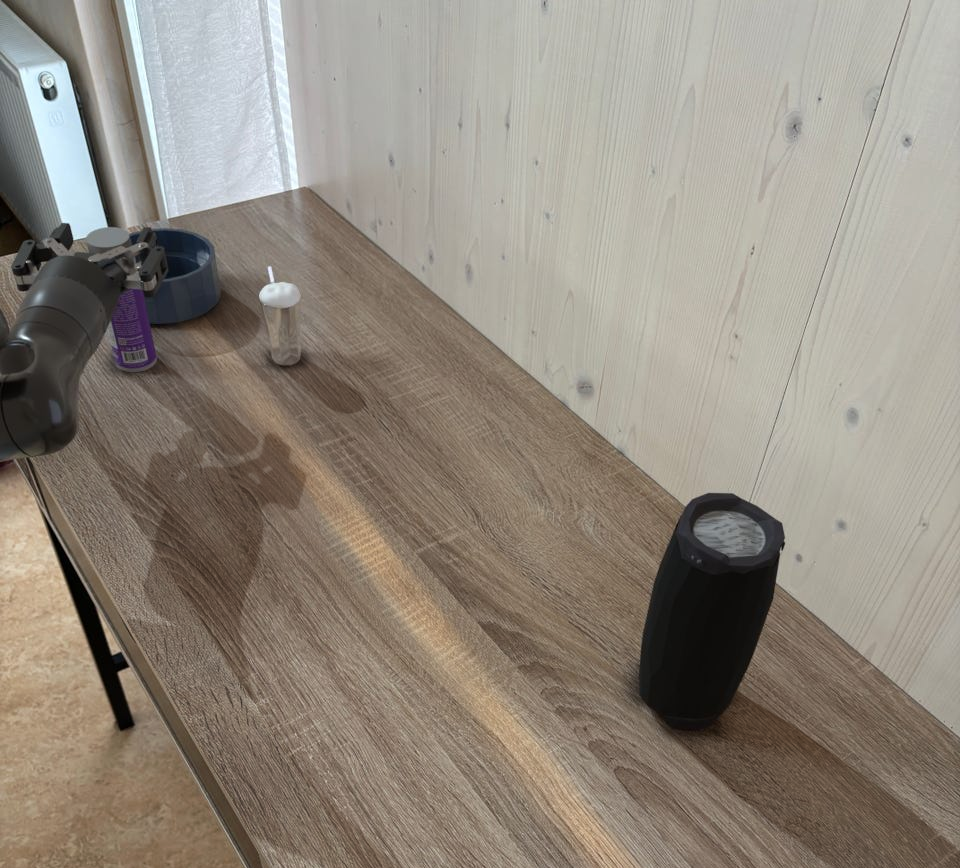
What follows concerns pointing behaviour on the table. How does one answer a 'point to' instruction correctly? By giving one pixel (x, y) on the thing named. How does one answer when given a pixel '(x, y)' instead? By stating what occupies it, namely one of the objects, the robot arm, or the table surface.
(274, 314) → the milkshake
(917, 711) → the table surface
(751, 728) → the table surface
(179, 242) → the bowl
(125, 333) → the container
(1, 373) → the robot arm
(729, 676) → the portable speaker
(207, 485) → the table surface
